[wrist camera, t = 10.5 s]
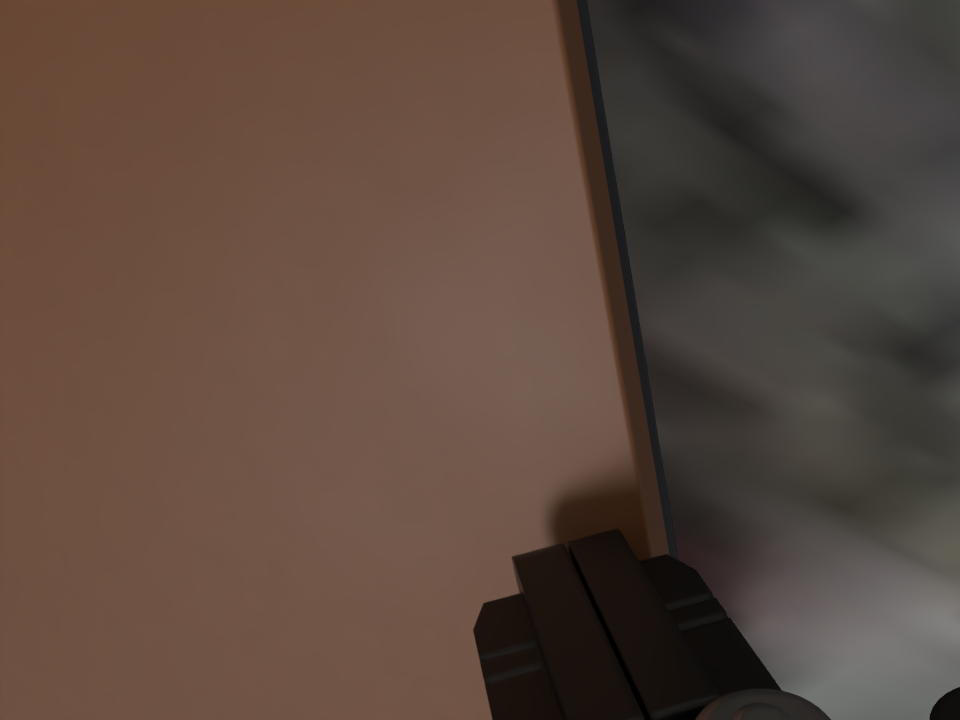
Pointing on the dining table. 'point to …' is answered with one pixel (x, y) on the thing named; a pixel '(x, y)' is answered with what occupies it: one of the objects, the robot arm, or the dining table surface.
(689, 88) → the dining table surface
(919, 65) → the dining table surface
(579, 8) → the black flat slab
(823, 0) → the dining table surface
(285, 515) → the tablet cover
